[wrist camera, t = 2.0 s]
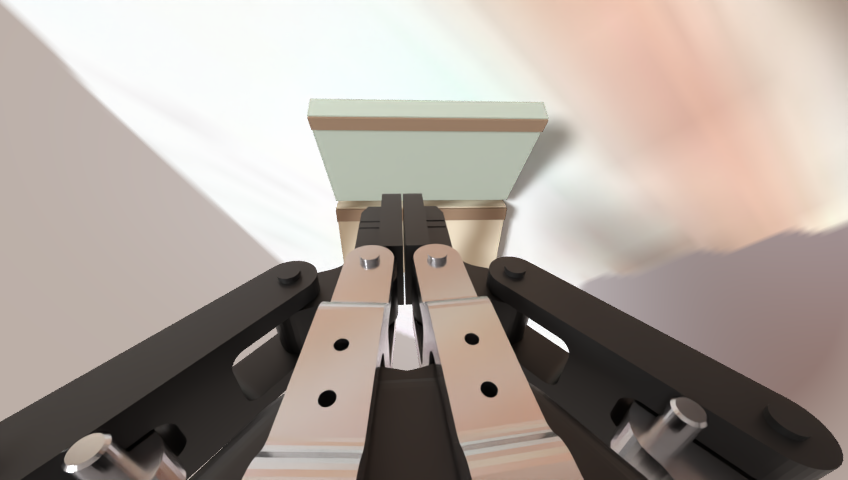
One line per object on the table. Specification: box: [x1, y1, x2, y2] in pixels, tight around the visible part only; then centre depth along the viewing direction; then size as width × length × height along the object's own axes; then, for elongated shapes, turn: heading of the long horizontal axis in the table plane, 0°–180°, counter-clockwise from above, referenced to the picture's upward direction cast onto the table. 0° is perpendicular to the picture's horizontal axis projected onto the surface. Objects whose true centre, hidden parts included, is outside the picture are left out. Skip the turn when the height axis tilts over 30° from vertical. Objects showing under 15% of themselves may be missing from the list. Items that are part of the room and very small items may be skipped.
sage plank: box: [307, 99, 548, 201], centre depth 25 cm, size 16×10×2 cm, turn 89°
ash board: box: [336, 200, 507, 272], centre depth 33 cm, size 16×8×2 cm, turn 89°
